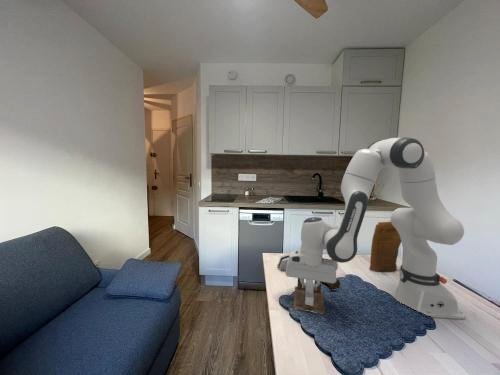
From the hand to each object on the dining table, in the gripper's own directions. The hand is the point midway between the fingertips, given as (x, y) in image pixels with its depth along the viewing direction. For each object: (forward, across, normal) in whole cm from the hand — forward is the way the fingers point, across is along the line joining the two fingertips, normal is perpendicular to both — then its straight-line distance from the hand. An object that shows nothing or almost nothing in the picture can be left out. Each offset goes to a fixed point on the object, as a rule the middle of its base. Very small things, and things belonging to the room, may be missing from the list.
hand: (309, 288), depth 91 cm
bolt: (+6, -7, -17) cm, 19 cm away
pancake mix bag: (+5, -40, -40) cm, 57 cm away
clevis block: (+5, 0, 0) cm, 5 cm away
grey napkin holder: (+6, +8, -27) cm, 29 cm away
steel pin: (+2, 0, 0) cm, 2 cm away
